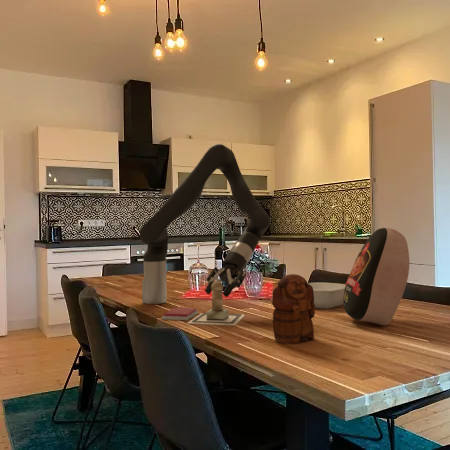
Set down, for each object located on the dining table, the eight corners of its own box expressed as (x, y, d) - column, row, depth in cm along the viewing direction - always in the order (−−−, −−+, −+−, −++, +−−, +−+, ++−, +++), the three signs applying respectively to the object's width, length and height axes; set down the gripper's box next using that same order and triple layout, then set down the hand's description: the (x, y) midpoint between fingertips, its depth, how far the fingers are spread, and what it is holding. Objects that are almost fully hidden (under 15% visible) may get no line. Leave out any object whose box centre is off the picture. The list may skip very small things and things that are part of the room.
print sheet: (187, 323, 149) (187, 321, 149) (201, 314, 164) (201, 312, 164) (235, 325, 145) (235, 323, 145) (245, 315, 161) (245, 313, 161)
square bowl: (283, 306, 179) (283, 286, 179) (312, 299, 194) (311, 281, 194) (330, 312, 165) (330, 291, 165) (357, 304, 180) (357, 284, 180)
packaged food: (337, 315, 158) (335, 228, 158) (394, 315, 157) (393, 227, 157) (352, 330, 136) (351, 228, 136) (420, 329, 135) (418, 227, 135)
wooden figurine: (285, 346, 120) (284, 277, 120) (270, 340, 126) (269, 274, 126) (319, 339, 126) (318, 274, 126) (304, 335, 132) (303, 272, 131)
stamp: (206, 320, 153) (205, 282, 153) (211, 316, 159) (211, 279, 159) (224, 320, 151) (223, 282, 151) (228, 317, 157) (227, 280, 157)
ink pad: (162, 319, 156) (162, 313, 156) (174, 312, 168) (174, 307, 168) (187, 320, 154) (187, 314, 154) (198, 313, 166) (197, 307, 166)
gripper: (218, 250, 166) (195, 285, 157) (248, 251, 156) (225, 289, 148) (228, 263, 170) (206, 298, 161) (258, 265, 160) (236, 303, 151)
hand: (215, 294), depth 154 cm, fingers open, 8 cm apart
